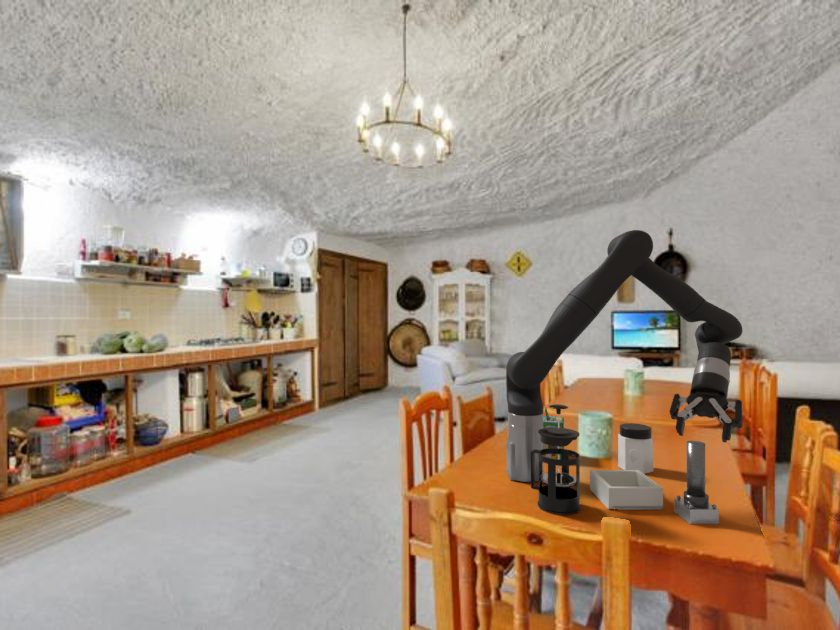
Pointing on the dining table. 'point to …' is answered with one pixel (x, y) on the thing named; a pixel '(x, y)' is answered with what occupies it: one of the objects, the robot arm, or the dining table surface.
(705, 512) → the stud mount
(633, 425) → the jar
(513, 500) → the dining table surface
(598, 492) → the bin
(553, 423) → the chalk box
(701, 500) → the grey metal flanged cylinder
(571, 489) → the french press
